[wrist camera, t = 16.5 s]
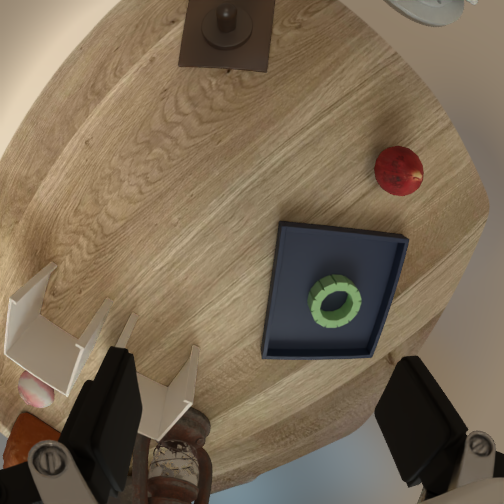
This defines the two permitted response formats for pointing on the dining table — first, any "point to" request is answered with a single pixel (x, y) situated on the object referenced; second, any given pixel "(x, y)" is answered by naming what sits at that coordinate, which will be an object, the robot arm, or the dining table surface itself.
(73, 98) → the dining table surface
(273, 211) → the dining table surface
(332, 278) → the ring
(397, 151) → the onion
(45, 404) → the onion
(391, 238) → the tray
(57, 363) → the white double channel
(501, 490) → the robot arm
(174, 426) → the lantern
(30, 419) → the bread
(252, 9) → the stand
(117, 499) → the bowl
